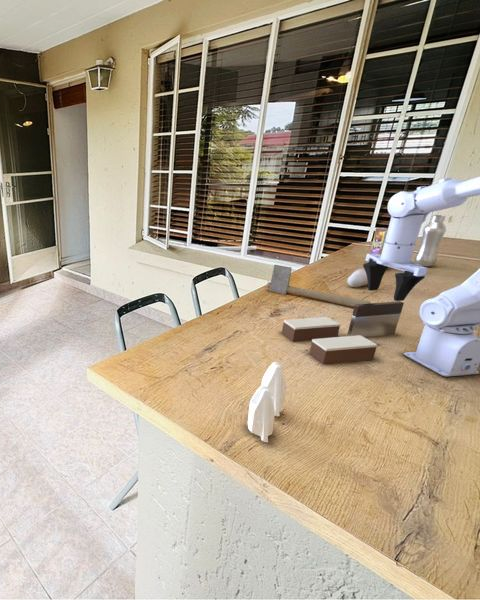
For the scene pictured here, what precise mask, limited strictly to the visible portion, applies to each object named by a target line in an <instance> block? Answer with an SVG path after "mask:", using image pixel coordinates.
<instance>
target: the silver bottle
mask: <svg viewBox="0 0 480 600" xmlns="http://www.w3.org/2000/svg"><path fill="white" fill-rule="evenodd" d="M445 220H446V215H441V214H433V215H432V216H431V219H430V222H428V223H427V224H426V225H425V226H424V227H423V230H422V238H421V242H420V246H419V249H418V251H417V253H416V255H415V257H414V260H413V262H414V263H416V264H418V265H420V266H423V267H433V266H434V265H435V264H436V263H437V260H438V253H439V248H440V245H441V242H442V239H443V237H444V236H445V233H446V232H447V226H446V225H445V223H444V222H445Z"/></svg>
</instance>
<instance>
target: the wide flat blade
mask: <svg viewBox="0 0 480 600" xmlns="http://www.w3.org/2000/svg"><path fill="white" fill-rule="evenodd" d="M404 304H405V302H403V301H385V302H372V303H371V302H370V304H357V305H355V306H354V307H353V310H352V314H351V318H350V323H349V326H348V331H347V334H346V336H357V335H361V336H363V337H364V338H368V337H381V336H392V335H395V334H396V331H397V327H398V324H399V321H400V317H401V314H402V311H403V308H404Z"/></svg>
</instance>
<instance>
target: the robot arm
mask: <svg viewBox="0 0 480 600" xmlns="http://www.w3.org/2000/svg"><path fill="white" fill-rule="evenodd" d="M476 196H480V176H477V177H474V178H471V179H468V180H466V181H464V180H462V179H459V178H452V177H445V178H441V179H439V180H438V183H436V184H431V185H427V186H426V185H421V186H418V187H416V189H415V190H414V191H404V190H403V191H398V192H397V193H395V194H394V195H392V196H391V197H390V199H389V200H388V202H387V212H388V214H389V215H390V219H389V224H388V227H387V228H388V231H387V235H386V239H385V243H384V246H383V250H382V254H381V255H379V254H375V253H371V252H370V253H371V254H370V253H366V256H365V261H366V263H363V265H362V267H363V269H365V271H366V275H367V280H368V284H367V290H368V291H370V292H371V291H378V290H379V288H380V285H381V282H382V280H383V277H384V275H385V274H386V272H387V271H388V270H387V268H388V269H389V268H391V269H395V270H398V271H402V272H395V274H394V276H395V290H394V294H393V301H394V302H396V301H401V302H403V301H405V299H406V298H407V297H408V295H409V294H410V292H411V291H412V290H413V289H414V288H415V287H416V285H418V284H419V283H420V282H421V281H423V280H424V279H425V277H426V275H427V272H428V267H427V266H420V265H418V264H416V263H415V262H414V261H412V259H413V255H414V252H415V248H416V245H417V241H418V238H419V235H420V231H421V229H422V225H423V224H424V223H425V222H426V221H427V217H428V216H429V215H430V214H431V213H434V212H438V211H442V210H446V209H450V208H455V207H459V206H462V205H463V204H464V203H466V201H467V200H468V198H472V197H476ZM368 261H369V262H368ZM419 316H420V318H421V321H422V324H423V325H424V326H423V329H422V333H421V335H420V338H419V341H418V344H417V348H416V350H415V351H409V352H408V351H407V352H404V353H403V356H405V357H407V358H409V359H410V360H413V361H415V362H416V363H418V364H420V365H421V366H424V367H426V368H427V369H429V370H430V371H432V372H435V373H436V374H438V375H440V376H441V377H446V378H447V377H457V376H469V375H470V376H471V375H479V374H480V371H479V366H480V338H479V337H478V336H477V335H476V334H475V333H474V331H476V330H477V329H478V326H479V325H480V268H478V270H476V271H475V272H474V273H473V274H472V275H470V276H469V277H468V278H467V279H466V280H465V281H464V282H462V283H461V284H459V285H457V286H454V287H452V288H450V289H447V290H445V291H442V292H440V294H438V295H437V296H435V297H431V298H428V299H426V300H424V301H423V302H422V304H421V305H420V307H419Z"/></svg>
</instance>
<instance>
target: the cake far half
mask: <svg viewBox="0 0 480 600" xmlns="http://www.w3.org/2000/svg"><path fill="white" fill-rule="evenodd" d="M340 327H341V323H339V322H337V321H335V320H334V319H332V318H331V317H328V316H318V317H306V318H305V317H304V318H292V319H284V320H283V324H282V330H281V334H282V335H283V336H284V337H286V338H287V339H288V340H290V341H291V342H301V341H312V339H321V338H333V337H339V336H338V335H339V331H340Z"/></svg>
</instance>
